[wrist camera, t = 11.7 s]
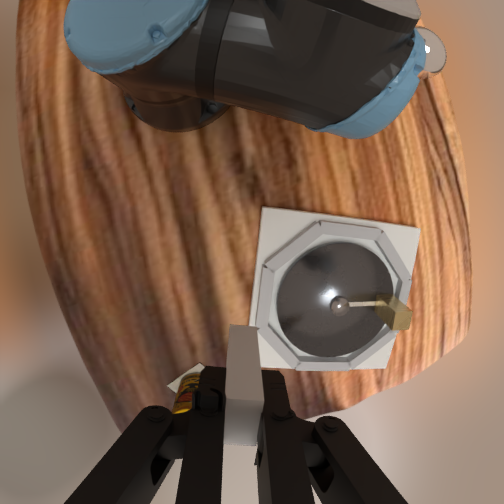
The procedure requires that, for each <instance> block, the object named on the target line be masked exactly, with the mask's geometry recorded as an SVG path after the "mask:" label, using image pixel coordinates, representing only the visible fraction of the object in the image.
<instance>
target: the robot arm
mask: <svg viewBox="0 0 504 504" xmlns="http://www.w3.org/2000/svg"><path fill="white" fill-rule="evenodd" d="M420 16H421V11H420V9H419V7H418V4H417V2H416V0H70V2H69V4H68V7H67V10H66V13H65V18H64V36H65V38H66V42H67V44H68V46H69V48H70V50H71V51H72V52H73V54H74V55H75V56H76V57H77V58H78V59H79V60H80V61H81V62H82V64H83V65H85V66H86V68H88V69H90V70H91V71H93V72H97V73H98V74H100V75H101V76H103V77H104V78H106V79H107V80H109V81H110V82H112V83H113V84H115V85H116V86H118V87H119V88H121V89H122V90H123V94H124V97H125V100H126V102H127V104H128V106H129V108H130V109H131V110H132V112H133V113H134V114H135V115H136V116H137V117H138V118H139V119H140V120H142V121H143V122H145V123H147V124H148V125H150V126H152V127H154V128H157V129H159V130H163V131H168V132H187V131H192V130H196V129H199V128H201V127H204V126H206V125H208V124H210V123H211V122H213V121H214V120H216V119H217V118H219V117H220V116H221V115H222V114H223V113H224V112H225V111H226V110H227V109H228V108H229V106H230V105H233V106H237V107H241V108H245V109H249V110H253V111H257V112H261V113H265V114H268V115H272V116H275V117H279V118H283V119H286V120H289V121H293V122H296V123H299V124H303V125H305V127H307V128H308V129H310V130H312V131H316V132H317V131H319V132H328V133H331V134H335V135H338V136H341V137H344V138H348V139H362V138H367V137H370V136H372V135H374V134H376V133H378V132H380V131H381V130H383V129H384V128H386V127H387V126H388V125H389V124H390V123H391V122H392V121H393V120H394V119H395V118H396V117H397V116H398V115H399V114H400V113H401V112H402V110H403V109H404V108H405V106H406V105H407V104H408V102H409V101H410V99H411V98H412V96H413V94H414V92H415V90H416V88H417V86H418V84H419V82H420V80H419V78H418V77H417V76H418V74H419V73H420V72H421V71H422V70H423V69H424V67H425V62H426V45H425V41H424V39H423V37H422V36H421V35H420V33H419V32H418V31H417V29H416V28H415V26H416V24H417V22H418V20H419V18H420ZM223 444H231V445H247V446H256V444H258V448H257V453H256V459H255V463H254V465H257V479H258V495H259V504H315V502H314V496H313V492H312V487H313V488H314V490H315V492H316V494H317V496H318V497H319V499H320V501H321V503H322V504H408V503H407V502H406V500H405V499H404V498H403V497H402V495H401V494H400V493H399V492H398V490H397V489H396V488H395V487H394V485H393V484H392V483H391V482H390V480H389V479H388V478H387V477H386V475H385V474H384V473H383V472H382V470H381V469H380V468H379V466H378V465H377V464H376V463H375V462H374V460H373V459H372V458H371V456H370V455H369V454H368V452H367V451H366V450H365V449H364V447H363V446H362V445H361V444H360V442H359V441H358V440H357V438H356V437H355V436H354V434H353V433H352V432H351V431H350V429H349V428H348V427H347V425H346V424H345V423H344V422H343V421H342V420H341V419H339V418H337V417H333V416H323V417H320V418H318V419H317V420H316V422H310V421H306V420H303V419H300V418H298V417H297V416H296V414H295V412H294V411H293V410H291V408H290V404H289V399H288V394H287V390H286V385H285V379H284V376H283V375H282V374H281V373H280V372H279V371H275V370H261V364H260V354H259V344H258V334H257V327H256V326H243V325H232V324H230V329H229V341H228V352H227V363H226V368H223V367H213V366H206V367H205V368H204V369H203V370H201V373H200V378H199V384H198V388H197V389H195V390H194V391H193V393H192V408H191V409H190V410H188V411H186V412H183V413H175V414H172V412H171V411H170V410H169V409H167V408H165V407H163V406H157V405H155V406H148V407H145V408H144V409H143V410H141V412H140V413H139V414H138V415H137V416H136V418H135V419H134V420H133V421H132V422H131V424H130V425H129V426H128V427H127V429H126V430H125V431H124V432H123V433H122V435H121V436H120V437H119V438H118V439H117V441H116V442H115V443H114V444H113V446H112V447H111V448H110V449H109V450H108V452H107V453H106V454H105V455H104V456H103V458H102V459H101V460H100V461H99V462H98V464H97V465H96V466H95V467H94V468H93V470H92V471H91V472H90V473H89V474H88V476H87V477H86V478H85V479H84V481H82V483H81V484H80V485H79V486H78V487H77V489H76V490H75V491H74V492H73V493H72V495H71V496H70V497H69V498H68V499H67V500H66V502H65V503H64V504H150V503H151V501H152V499H153V497H154V496H155V494H156V492H157V491H158V489H159V487H160V486H161V484H162V482H163V480H164V479H165V477H166V475H167V473H168V472H169V470H170V469H171V467H172V465H173V463H174V461H175V459H182V458H183V461H182V467H181V472H180V478H179V484H178V490H177V497H176V502H175V504H221V488H222V486H221V485H222V465H223V464H222V463H223ZM311 485H312V487H311Z"/></svg>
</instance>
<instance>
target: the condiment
mask: <svg viewBox="0 0 504 504" xmlns="http://www.w3.org/2000/svg"><path fill="white" fill-rule="evenodd" d="M204 368H205V367H204V366H203V365H202V364H201V363H199V364H197V365H196V366H194V367H193V368H192V369H190V370H188V371H187V372H186V373H184V374H183V375H181V376H180V377H179V378H177V379H176V380H174V381H173V382H172V383H170V384H169V385H167V386H168V387H169V388H170V389H172V390H173V391H174V392H175V393H176V394H177V395H176V399H175V402H174V406H173V409H172V414H175V413H183V412H186V411H188V410H190V409H191V408H192V393H193V391H194V390H195V389H197V388H198V384H199V378H200V373H201V370H203V369H204Z"/></svg>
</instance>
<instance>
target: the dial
mask: <svg viewBox="0 0 504 504" xmlns="http://www.w3.org/2000/svg"><path fill="white" fill-rule="evenodd" d="M276 311H277V316H278V321H279V324H280V327H281V329H282V331H283V333H284V335H285V336H286V337H287V339H288V340H289V341H290V342H291V343H292V344H293V345H294V346H295V347H297V348H298V349H299V350H301V351H303V352H305V353H307V354H310V355H313V356H318V357H338V356H343V355H346V354H349V353H352V352H354V351H356V350H358V349H360V348H362V347H363V346H365V345H366V344H367V343H369V342H370V341H371V340H372V339H373V338H374V337H375V336H376V335H377V334H378V333H379V332H380V330H381V329H382V328H383V326H384V324H386V325H387V326H388V327H389V328H390V329H391V330H392V331H396V330H407V329H409V326H410V322H411V317H412V312H413V311H412V310H411V309H409V308H408V307H407V306H406V305H405V304H403V303H402V302H401V301H400V300H399V299H398V298H396V297H395V296H394V293H393V283H392V279H391V275H390V273H389V271H388V269H387V267H386V265H385V264H384V262H383V261H382V260H381V259H380V258H379V257H378V256H377V255H376V254H374V253H373V252H372V251H370V250H368V249H367V248H365V247H363V246H360V245H358V244H355V243H350V242H330V243H325V244H322V245H319V246H317V247H315V248H312V249H310V250H309V251H307V252H306V253H304V254H303V255H301V256H300V257H299V258H298V259H297V260H296V261H295V262H294V263H293V264H292V265H291V266H290V267H289V269H288V270H287V271H286V273H285V275H284V277H283V278H282V281H281V283H280V286H279V289H278V293H277V299H276Z"/></svg>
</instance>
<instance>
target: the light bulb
mask: <svg viewBox="0 0 504 504" xmlns="http://www.w3.org/2000/svg"><path fill="white" fill-rule="evenodd" d="M415 28H416V29H417V31H418V32H419V33H420V35H421V36H422V37H423V39H424V41H425V45H426V62H425V67H424V69H423V70H422V71H421V72H420V73H419V74H418V76H417V77H418V78H419V79H428V78H432V77H434V76H436V75H437V74H439V73H440V72H441V71H442V69H443V68H444V66H445V63H446V57H447V56H446V50H445V46H444V44H443V42H442V41H441V39H440V38H439V37H438V36H437V35H436V34H435V33H434V32H432V31H431V30H429V29H427V28H425V27H422V26H415Z"/></svg>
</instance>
